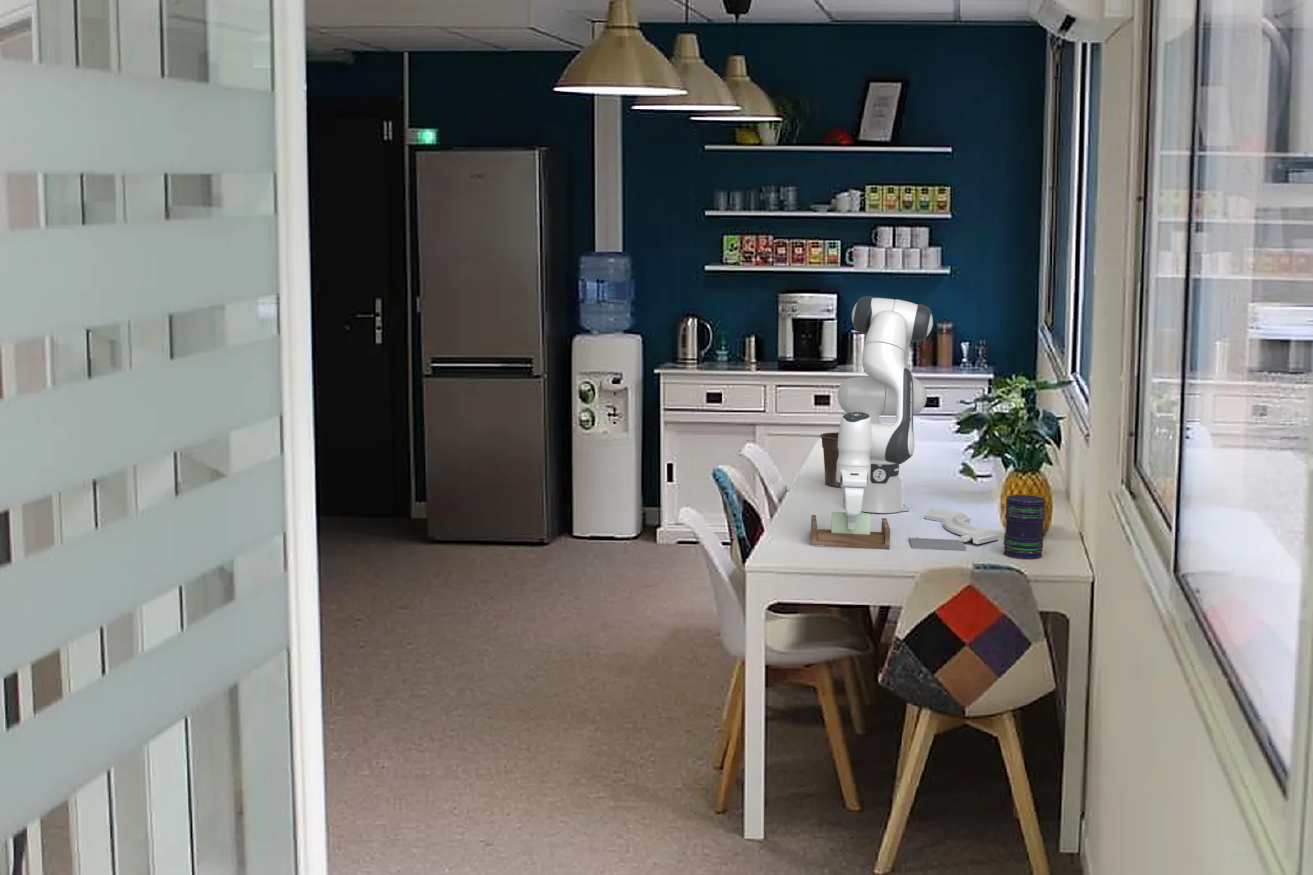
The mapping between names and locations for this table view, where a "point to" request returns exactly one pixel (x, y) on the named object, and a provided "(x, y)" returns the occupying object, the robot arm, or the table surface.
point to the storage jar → (1024, 527)
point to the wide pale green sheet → (841, 523)
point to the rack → (851, 537)
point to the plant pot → (830, 457)
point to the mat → (937, 544)
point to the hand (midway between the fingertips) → (850, 527)
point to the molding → (962, 526)
